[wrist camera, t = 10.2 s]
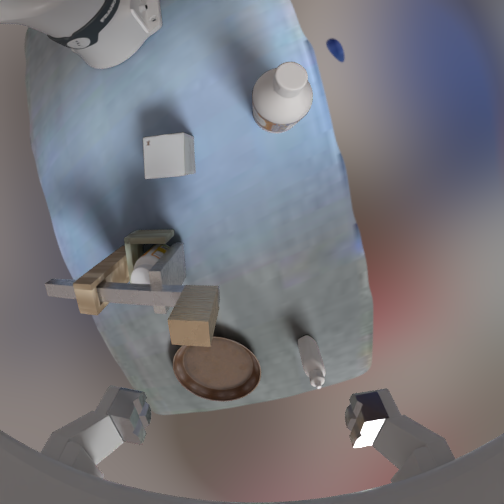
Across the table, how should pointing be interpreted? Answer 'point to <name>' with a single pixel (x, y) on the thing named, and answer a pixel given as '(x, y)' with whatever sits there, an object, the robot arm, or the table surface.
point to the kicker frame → (115, 268)
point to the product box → (168, 155)
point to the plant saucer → (217, 370)
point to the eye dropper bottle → (312, 360)
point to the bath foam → (281, 97)
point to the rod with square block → (162, 298)
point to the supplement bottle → (147, 263)
